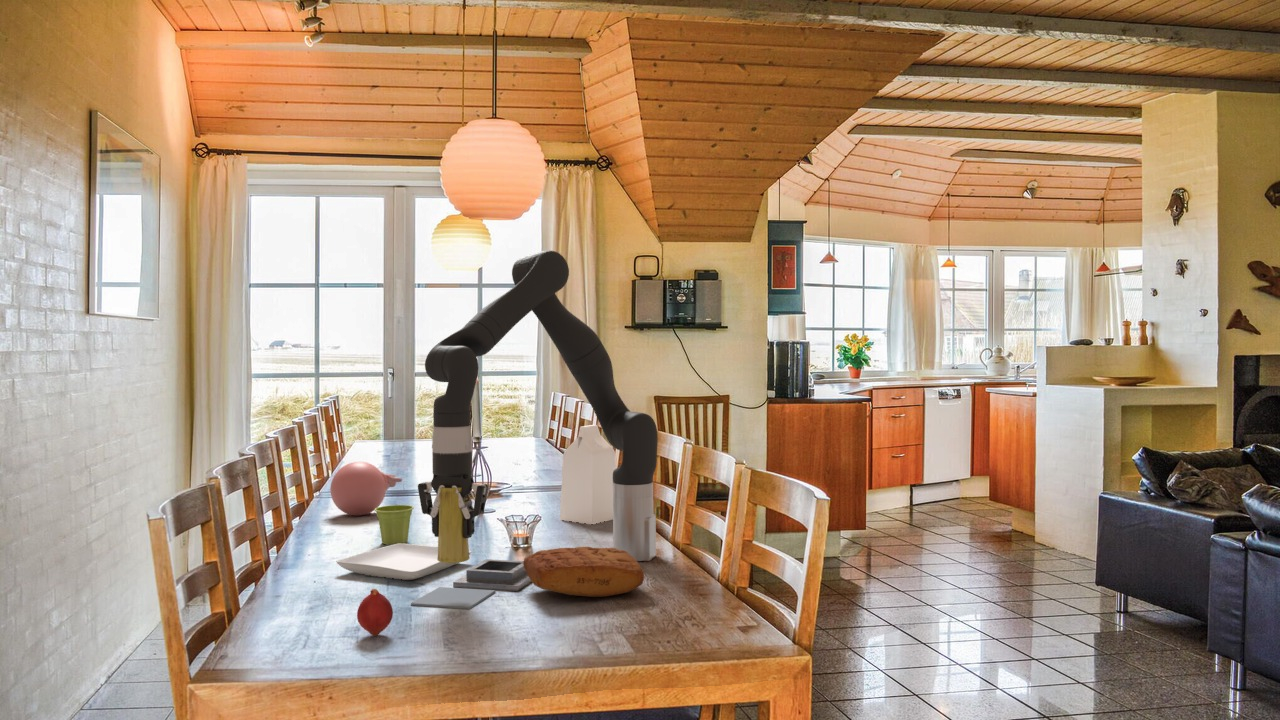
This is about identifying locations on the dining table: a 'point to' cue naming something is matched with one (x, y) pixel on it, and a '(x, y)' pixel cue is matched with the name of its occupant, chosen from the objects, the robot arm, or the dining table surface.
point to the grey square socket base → (495, 576)
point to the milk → (588, 478)
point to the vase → (451, 528)
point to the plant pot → (394, 523)
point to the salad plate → (396, 562)
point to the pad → (453, 598)
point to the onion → (375, 613)
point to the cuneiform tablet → (584, 571)
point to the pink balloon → (360, 488)
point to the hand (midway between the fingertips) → (453, 536)
